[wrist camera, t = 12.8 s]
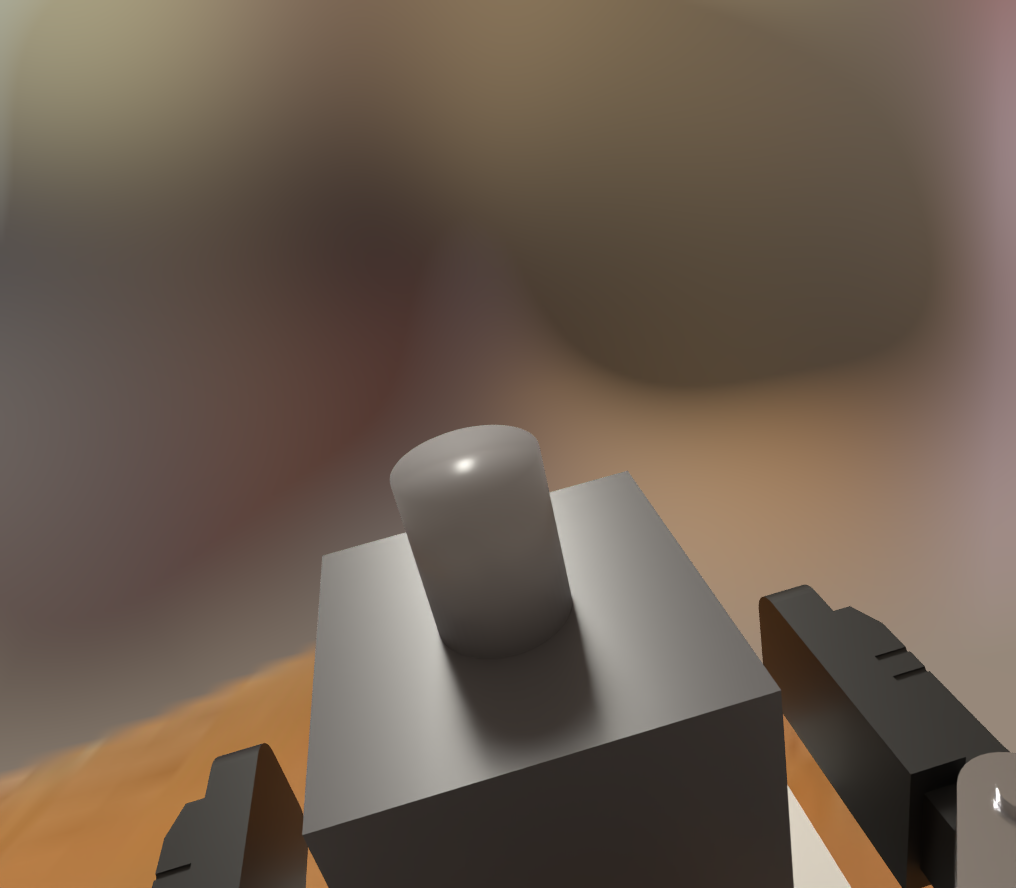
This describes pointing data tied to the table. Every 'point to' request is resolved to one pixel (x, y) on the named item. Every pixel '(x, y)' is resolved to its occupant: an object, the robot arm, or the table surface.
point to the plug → (536, 694)
